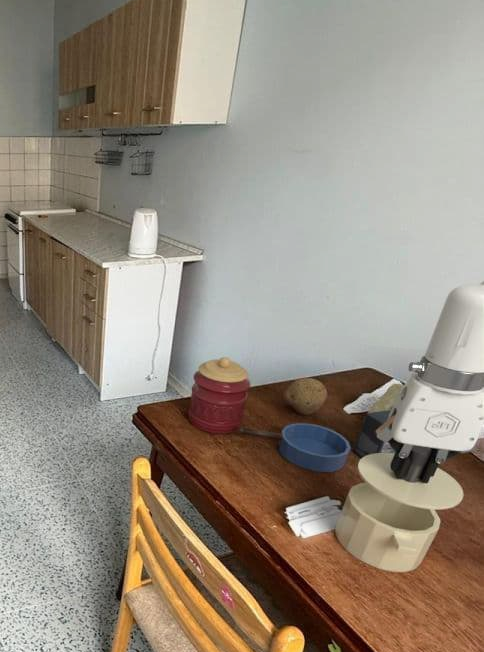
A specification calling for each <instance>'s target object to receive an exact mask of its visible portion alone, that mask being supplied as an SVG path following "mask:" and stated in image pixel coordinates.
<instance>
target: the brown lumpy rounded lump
mask: <svg viewBox="0 0 484 652" xmlns="http://www.w3.org/2000/svg"><path fill="white" fill-rule="evenodd" d="M327 397H328V391H327V389H326V387H325V385H324V384H323V383H322V382H321V381H319V380H317V379H315V378H312V377H303V378H302V377H301V378H299V379H296V380H294V381H293V382H292V383H291V384H290V385H289V386H288V387H287V389H286V390H285V392H284V401H285V402H286V403H287V405H289V406H290V407H292V408H293V409H294V410H295V411H296V412H297V413H298V414H300V415H302V416H307V415H308V416H309V415H311V414H314V413H316V411H318V410H319V409H320V408H321V407H322V406H323V404H324V403H325V401H326V400H327Z"/></svg>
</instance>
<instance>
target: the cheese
mask: <svg viewBox="0 0 484 652" xmlns="http://www.w3.org/2000/svg"><path fill="white" fill-rule="evenodd" d="M404 385H405V384H401V383H398V382H397V383H393V384H391V385H390V386H389V387H388V388H387V390H386V391H385V392H384V394H383V395H382V396H381V397H380V398H379V399H377V400H376V402H375V403H374V404H372V406H371V407H370V409H368V411H367V413H371V412H379V411H388V410H392V407H393V405H394V403H395V401H396V399H397V397H398V395H399V394H400V392H401V390H402V389H403V387H404ZM364 420H365V418H364V419H363V421H364Z"/></svg>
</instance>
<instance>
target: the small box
mask: <svg viewBox="0 0 484 652" xmlns="http://www.w3.org/2000/svg"><path fill="white" fill-rule="evenodd" d="M390 412H391V410H388V411H379V412H371V413H368V412H366V414H365V417H364V419H365V420H364V419H363V423H362V426H361V429H360V431H359V435H358V437H357V440H356V443H355V445H354V448H353V452H352V453H355V454H356V455H357V456H358V457H360V459H362V458H363V457H365V456H367V455H370V454H375V453H392V454H395V452H396V451H395V450H394V449H393V448H392V447H391V446H390V444H388V443H386V442H384V441H382V440H380V439H379V438H377V436H376V434H375V431H376V430H377V429H378V428H379V427H380V426H382V425H383V424H384V423H385V422H386V421H387V420H388V417H389V414H390ZM391 435H392V434H391Z"/></svg>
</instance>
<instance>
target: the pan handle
mask: <svg viewBox="0 0 484 652" xmlns="http://www.w3.org/2000/svg"><path fill="white" fill-rule="evenodd" d="M237 430H238V433H239V434H240V435H244V436H250V437H256V438H263V439H270V440H276V441H279V440H281V439H282V434H281V432H276V431H275V432H274V431H268V430H262V429H255V428H249V427H243V426H240V427H239V428H238V429H237Z"/></svg>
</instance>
